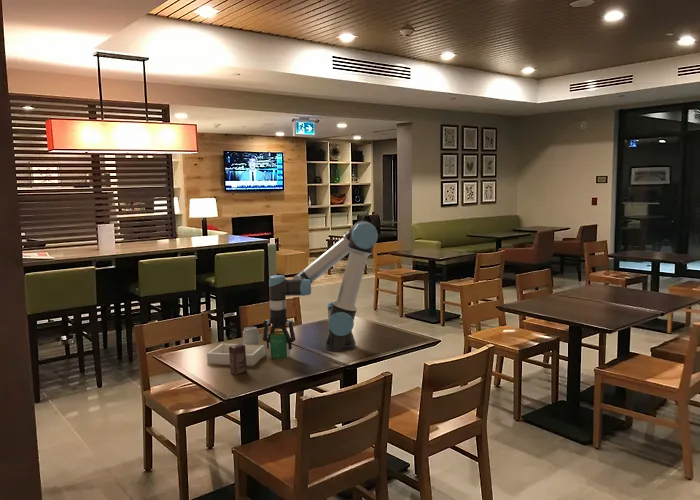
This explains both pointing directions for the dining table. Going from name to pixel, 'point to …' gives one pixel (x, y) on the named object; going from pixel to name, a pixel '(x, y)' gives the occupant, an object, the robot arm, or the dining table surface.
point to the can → (251, 336)
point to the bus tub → (222, 356)
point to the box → (237, 359)
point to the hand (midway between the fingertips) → (279, 355)
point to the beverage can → (278, 345)
